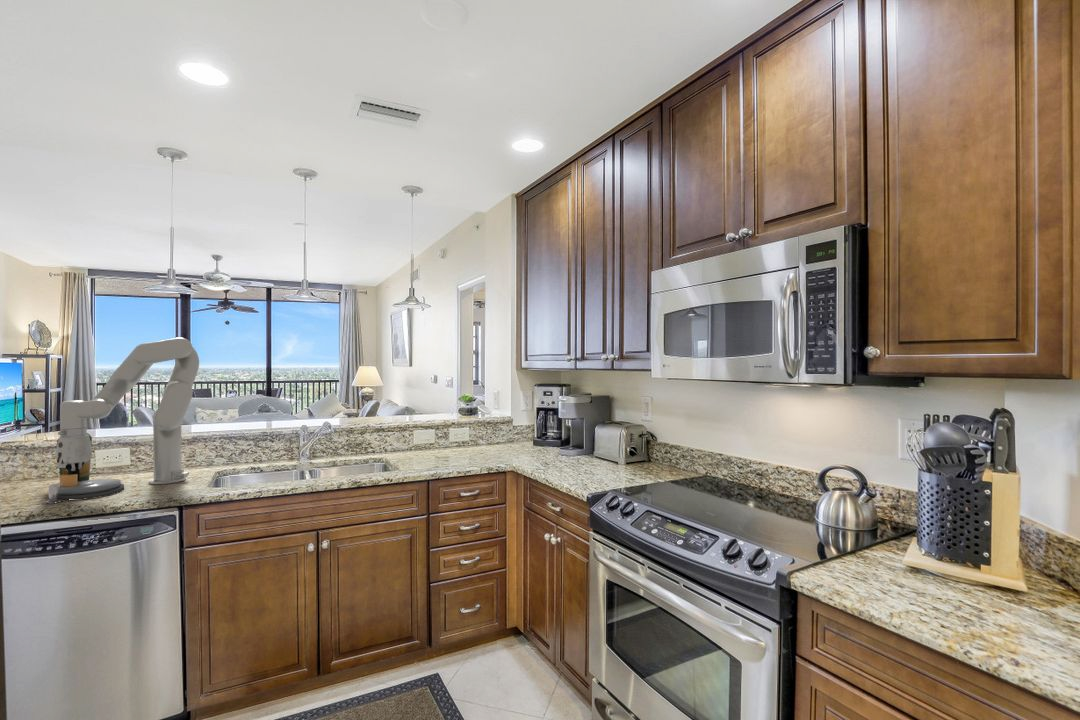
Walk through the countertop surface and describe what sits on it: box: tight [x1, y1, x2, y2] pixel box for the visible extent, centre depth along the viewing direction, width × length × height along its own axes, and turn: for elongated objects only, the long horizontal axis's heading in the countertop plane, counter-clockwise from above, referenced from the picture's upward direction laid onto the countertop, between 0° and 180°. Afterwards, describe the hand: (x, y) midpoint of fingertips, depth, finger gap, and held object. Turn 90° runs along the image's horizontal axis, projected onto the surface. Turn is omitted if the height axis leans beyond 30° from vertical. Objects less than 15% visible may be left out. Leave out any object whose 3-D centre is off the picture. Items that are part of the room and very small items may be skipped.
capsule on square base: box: [42, 482, 64, 503], centre depth 186 cm, size 5×4×6 cm
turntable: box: [58, 474, 122, 495], centre depth 198 cm, size 19×19×6 cm
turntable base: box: [58, 483, 125, 500], centre depth 198 cm, size 21×21×2 cm
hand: (73, 480), depth 200 cm, fingers closed
